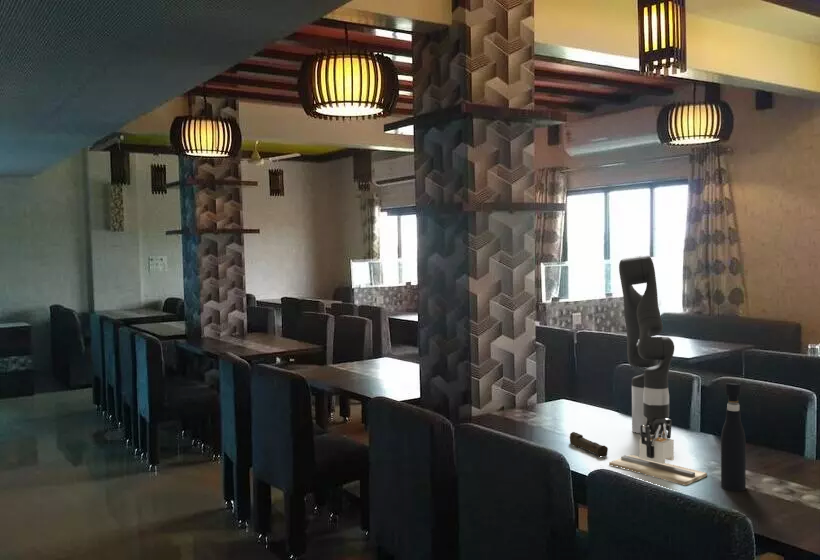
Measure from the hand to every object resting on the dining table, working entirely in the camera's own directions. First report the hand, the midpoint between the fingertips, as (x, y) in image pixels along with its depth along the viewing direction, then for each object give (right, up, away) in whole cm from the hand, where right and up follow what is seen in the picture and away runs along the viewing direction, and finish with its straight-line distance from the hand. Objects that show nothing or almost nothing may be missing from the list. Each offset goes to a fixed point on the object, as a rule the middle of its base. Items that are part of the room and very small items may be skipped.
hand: (656, 455), depth 220 cm
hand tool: (-16, -4, +24) cm, 29 cm away
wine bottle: (+16, -5, -16) cm, 24 cm away
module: (0, -1, 0) cm, 1 cm away
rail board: (0, -5, 0) cm, 5 cm away
